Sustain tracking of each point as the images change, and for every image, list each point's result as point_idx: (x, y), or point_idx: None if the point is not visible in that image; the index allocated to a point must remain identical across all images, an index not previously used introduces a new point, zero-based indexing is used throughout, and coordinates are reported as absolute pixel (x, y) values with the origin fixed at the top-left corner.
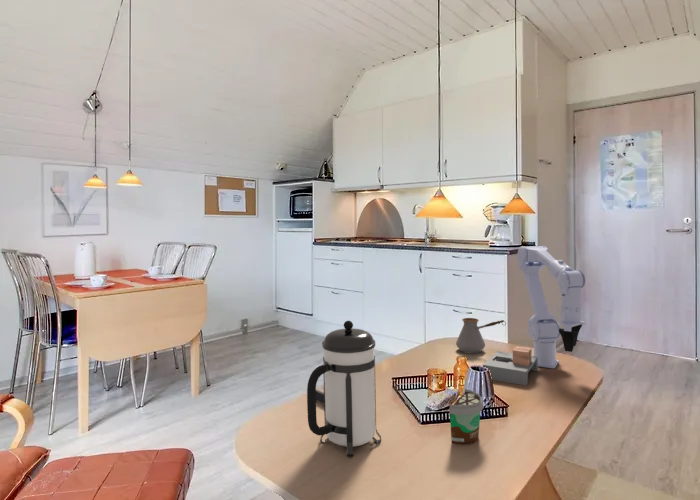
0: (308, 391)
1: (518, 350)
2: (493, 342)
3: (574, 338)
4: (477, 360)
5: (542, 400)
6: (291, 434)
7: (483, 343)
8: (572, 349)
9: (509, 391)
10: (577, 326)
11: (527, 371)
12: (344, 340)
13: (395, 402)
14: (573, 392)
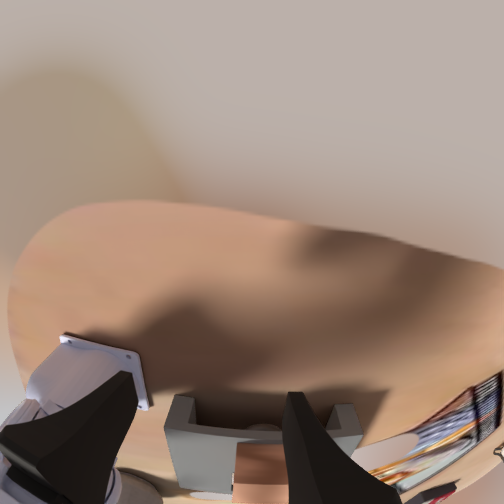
0: None
1: (284, 498)
2: None
3: (358, 467)
4: None
5: (448, 346)
6: (492, 462)
7: (122, 487)
8: (307, 402)
9: (401, 415)
10: (59, 478)
11: (346, 433)
12: None
13: (444, 472)
14: (378, 282)
